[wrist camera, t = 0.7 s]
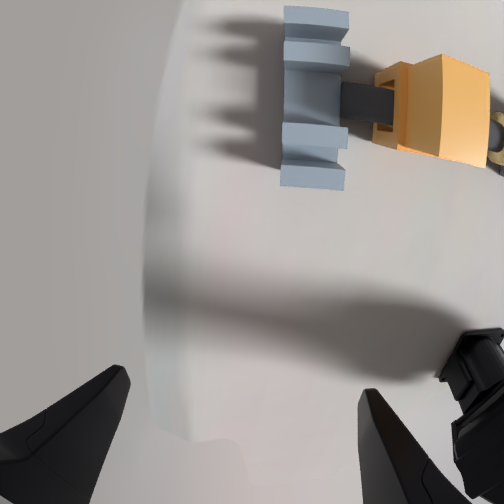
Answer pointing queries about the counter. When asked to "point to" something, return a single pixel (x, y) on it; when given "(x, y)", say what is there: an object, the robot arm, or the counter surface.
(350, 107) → the black rod
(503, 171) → the connector
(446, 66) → the sleeve
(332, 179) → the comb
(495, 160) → the band
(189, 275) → the counter surface
